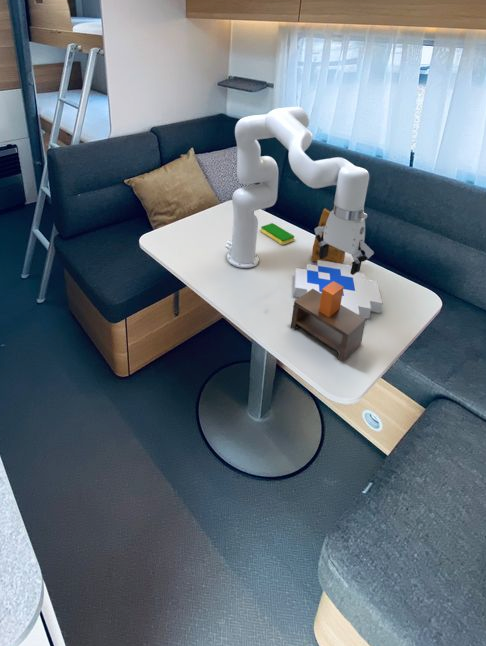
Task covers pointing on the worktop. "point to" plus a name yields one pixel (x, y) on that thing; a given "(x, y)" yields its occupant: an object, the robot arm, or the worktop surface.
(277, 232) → the dish sponge
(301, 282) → the stepped white slab
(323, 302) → the block
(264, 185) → the robot arm
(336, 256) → the coffee package
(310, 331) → the shelf
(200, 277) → the worktop surface
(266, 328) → the worktop surface
